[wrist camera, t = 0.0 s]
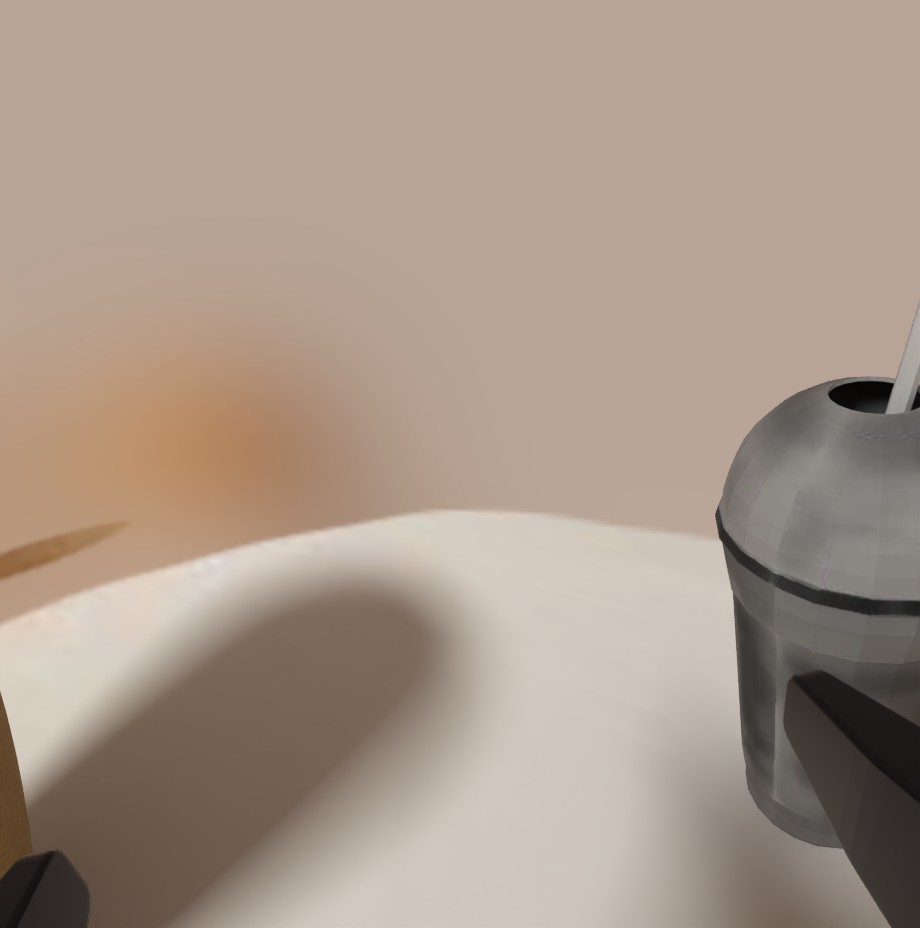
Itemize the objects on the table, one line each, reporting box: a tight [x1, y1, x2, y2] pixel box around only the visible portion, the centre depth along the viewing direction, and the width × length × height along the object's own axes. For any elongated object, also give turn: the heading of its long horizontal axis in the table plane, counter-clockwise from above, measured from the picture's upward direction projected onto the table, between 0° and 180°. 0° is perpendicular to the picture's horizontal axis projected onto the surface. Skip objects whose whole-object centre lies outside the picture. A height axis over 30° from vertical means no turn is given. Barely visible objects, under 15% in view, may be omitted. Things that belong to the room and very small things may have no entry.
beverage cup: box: [715, 301, 920, 848], centre depth 20 cm, size 7×7×20 cm
